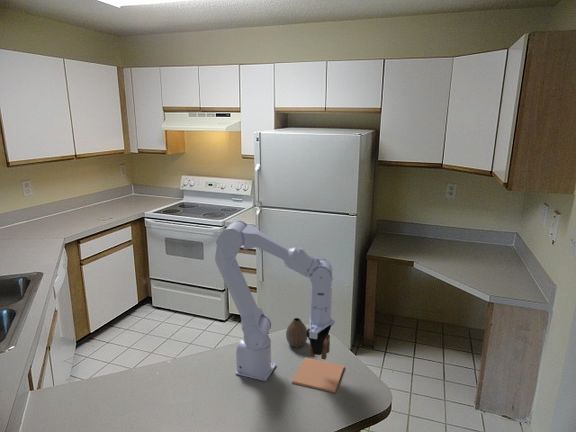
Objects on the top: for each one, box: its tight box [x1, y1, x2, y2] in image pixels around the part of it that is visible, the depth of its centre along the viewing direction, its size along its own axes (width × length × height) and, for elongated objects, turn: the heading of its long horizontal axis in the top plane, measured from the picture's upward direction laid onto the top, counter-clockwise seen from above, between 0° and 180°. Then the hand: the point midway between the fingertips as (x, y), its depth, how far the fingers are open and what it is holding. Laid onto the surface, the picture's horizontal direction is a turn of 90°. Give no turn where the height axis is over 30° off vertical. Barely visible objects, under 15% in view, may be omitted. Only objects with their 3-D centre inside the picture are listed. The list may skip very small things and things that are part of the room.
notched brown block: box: [309, 334, 331, 361], centre depth 111 cm, size 4×4×5 cm
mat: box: [291, 357, 345, 393], centre depth 113 cm, size 12×12×1 cm
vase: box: [285, 317, 308, 348], centre depth 128 cm, size 7×7×9 cm
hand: (319, 349), depth 111 cm, fingers closed on notched brown block, 4 cm apart
